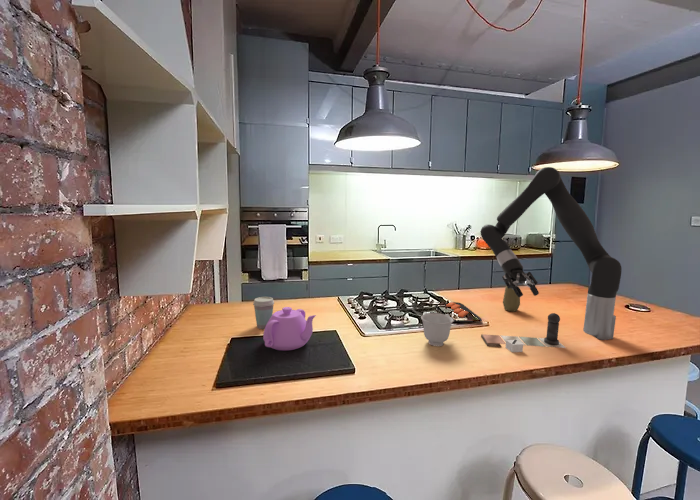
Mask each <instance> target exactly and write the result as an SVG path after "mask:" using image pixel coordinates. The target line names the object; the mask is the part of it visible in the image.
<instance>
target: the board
mask: <svg viewBox="0 0 700 500" xmlns="http://www.w3.org/2000/svg"><path fill="white" fill-rule="evenodd" d="M480 338H481V339H482V340H483V342H484V344H485V345H486V346H487V347H495V348H496V347H498V348H502V347H503V346H502V345H506V340H517V341H519V342H521V343H522V344H523V346H531V347H542V348H543V347H547V348H560V349H561V348H562V349H567V347H566V346H564V344H562V343H561V342H560V341H559V345H550V344H547V343H545V342H544V338H545V337H531V336H530V337H529V336H528V337H527V336H517V335H516V336H515V335H514V336H513V335H498V334H483V333H482V334H480Z"/></svg>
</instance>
